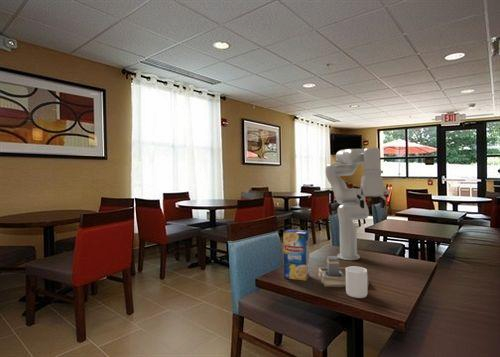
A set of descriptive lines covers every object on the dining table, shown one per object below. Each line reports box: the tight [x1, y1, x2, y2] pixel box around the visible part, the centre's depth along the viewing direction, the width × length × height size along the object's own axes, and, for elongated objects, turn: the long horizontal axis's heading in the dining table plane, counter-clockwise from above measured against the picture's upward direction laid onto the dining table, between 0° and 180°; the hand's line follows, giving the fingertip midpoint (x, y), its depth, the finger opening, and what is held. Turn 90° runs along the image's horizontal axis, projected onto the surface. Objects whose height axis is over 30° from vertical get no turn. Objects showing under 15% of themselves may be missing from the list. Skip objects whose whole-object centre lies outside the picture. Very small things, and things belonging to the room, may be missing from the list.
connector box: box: [317, 267, 370, 288], centre depth 135 cm, size 14×19×4 cm
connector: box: [326, 255, 340, 276], centre depth 136 cm, size 5×5×10 cm
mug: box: [345, 265, 368, 299], centre depth 122 cm, size 12×8×10 cm
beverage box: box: [282, 229, 310, 282], centre depth 142 cm, size 7×11×22 cm, turn 67°
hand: (372, 207), depth 144 cm, fingers open, 9 cm apart
